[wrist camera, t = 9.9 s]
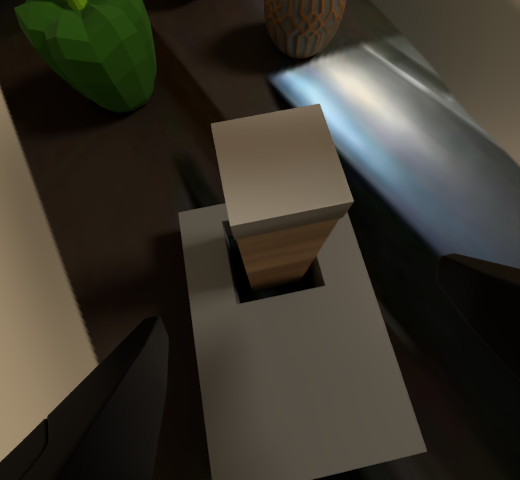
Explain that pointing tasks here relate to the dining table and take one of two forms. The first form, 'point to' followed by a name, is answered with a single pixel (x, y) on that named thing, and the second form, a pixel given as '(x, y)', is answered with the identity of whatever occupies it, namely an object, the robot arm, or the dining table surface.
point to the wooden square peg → (280, 190)
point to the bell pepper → (95, 47)
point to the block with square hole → (293, 364)
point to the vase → (302, 24)
